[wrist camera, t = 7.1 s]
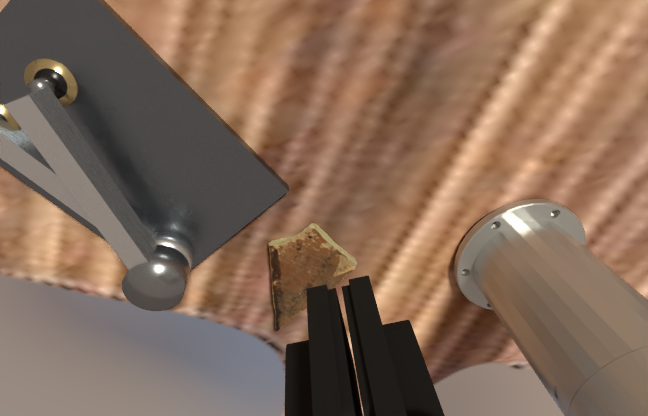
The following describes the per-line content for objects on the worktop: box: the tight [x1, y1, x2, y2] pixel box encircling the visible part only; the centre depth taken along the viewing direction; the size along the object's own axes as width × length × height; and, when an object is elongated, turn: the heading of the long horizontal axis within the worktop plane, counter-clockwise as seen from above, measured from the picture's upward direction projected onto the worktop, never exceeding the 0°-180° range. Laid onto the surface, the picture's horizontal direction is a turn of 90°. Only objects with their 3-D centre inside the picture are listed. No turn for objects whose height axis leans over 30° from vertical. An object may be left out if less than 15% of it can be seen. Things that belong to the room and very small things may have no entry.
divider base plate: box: [0, 0, 289, 270], centre depth 30 cm, size 21×14×3 cm, turn 39°
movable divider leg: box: [4, 75, 190, 311], centre depth 29 cm, size 18×4×4 cm, turn 19°
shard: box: [268, 223, 357, 331], centre depth 38 cm, size 11×8×2 cm
